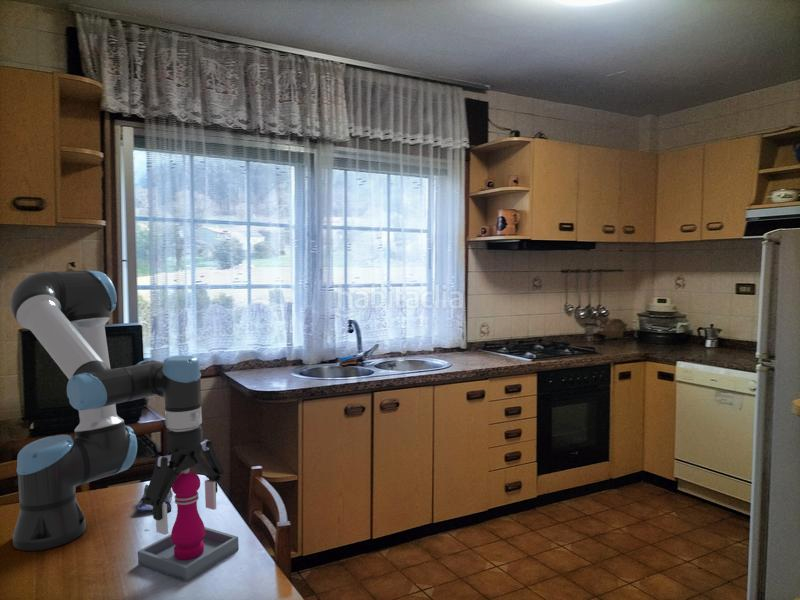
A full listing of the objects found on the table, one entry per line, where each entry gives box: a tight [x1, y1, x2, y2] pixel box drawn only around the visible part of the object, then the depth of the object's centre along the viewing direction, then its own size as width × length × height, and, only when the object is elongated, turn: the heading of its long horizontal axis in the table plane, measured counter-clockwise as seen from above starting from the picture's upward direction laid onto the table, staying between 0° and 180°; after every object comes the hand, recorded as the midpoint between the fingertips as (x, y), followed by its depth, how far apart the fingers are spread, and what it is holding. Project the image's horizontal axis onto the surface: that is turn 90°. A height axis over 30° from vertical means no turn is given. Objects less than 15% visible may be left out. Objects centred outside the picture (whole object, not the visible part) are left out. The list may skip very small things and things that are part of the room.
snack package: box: [136, 484, 174, 513], centre depth 157 cm, size 12×6×12 cm
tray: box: [137, 526, 240, 583], centre depth 130 cm, size 15×15×3 cm
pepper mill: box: [170, 467, 206, 560], centre depth 129 cm, size 7×7×20 cm
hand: (187, 520), depth 129 cm, fingers open, 13 cm apart
